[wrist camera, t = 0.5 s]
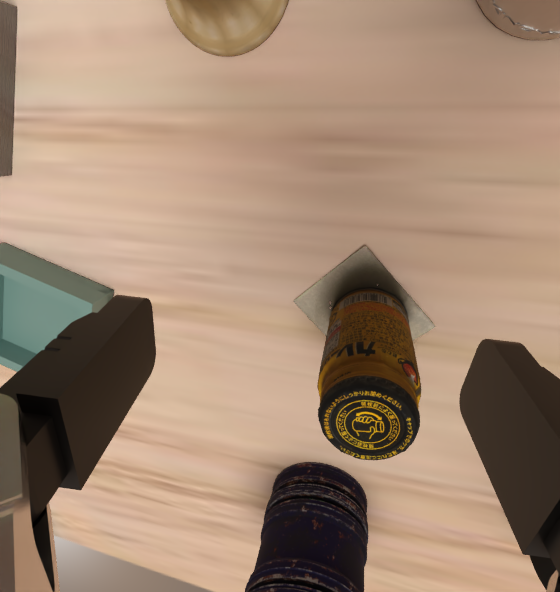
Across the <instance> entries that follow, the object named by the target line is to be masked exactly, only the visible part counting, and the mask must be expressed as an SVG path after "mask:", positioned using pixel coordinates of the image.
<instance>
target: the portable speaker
mask: <svg viewBox="0 0 560 592" xmlns="http://www.w3.org/2000/svg"><path fill="white" fill-rule="evenodd" d="M530 558H531V561H532V563H533V566H534V569H535V571H536V573H537V575H538V577H539V579H540V580H541V582H542V584H543V585H544V587H545V589H546V590H547V587H548V583H549V580H550V578H551V576H552V575H553V574H554V572H555V571H556V568H555V566H554V564H553V562H552V560H551V558H546V557H539V556H531V555H530Z"/></svg>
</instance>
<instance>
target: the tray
mask: <svg viewBox="0 0 560 592" xmlns="http://www.w3.org/2000/svg"><path fill="white" fill-rule="evenodd" d="M113 294H114V290H112V289H110V288H108V287H105V286H103V285H101V284H98V283H96V282H94V281H91V280H89V279H87V278H85V277H82V276H80V275H78V274H75V273H73V272H71V271H69V270H66V269H64V268H62V267H59V266H57V265H55V264H52V263H50V262H48V261H46V260H43V259H41V258H39V257H36V256H34V255H32V254H29V253H27V252H25V251H23V250H20V249H18V248H16V247H13V246H11V245H9V244H6V243H1V244H0V364H1V365H3V366H5V367H8V368H10V369H12V370H14V371H17V372H18V371H19V370H20V369H21V368H22V367H24V366H25V365H26V364H27V363H28V362H29V361H30V360H31V359H32V358H33V357H34V356H36V355H37V354H38V353H39V352H40V351H41V350H44V349H45V346H46V345H47V344H49V343H50V342H51V341H52V340H53V339H54V338H55V339H56V338H57V335H58V334H59V333H61V332H62V331H63V330H64V329H65V328H66V327H67V326H68V325H69V324H70V323H71V322H73V321H75V320H77V319H79V318H81V317H83V316H85V315H87V314H89V313H91V312H95V313H98V312H99V311H100V310H101V309H102V308H103V307H104V306H105V305H106V304H107V303H108V302H109V301H110V300H111V299H112V298H113Z"/></svg>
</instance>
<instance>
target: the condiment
mask: <svg viewBox="0 0 560 592" xmlns="http://www.w3.org/2000/svg"><path fill="white" fill-rule="evenodd" d="M377 284H379V285H378V286H377ZM329 301H331V305H329ZM294 302H295V304H296V305H297V306H298V307H299V308H300V309H301V310H302V311H303V312H304V313H305V314H306V315H307V317H308V318H309V319H310V320H311V321H312V322H313V323H314V324H315V325H316V326H317V327H318V328H319V329H320V330H321V331H322V332H323V333H324V334H325V335H326V341H325V347H324V351H323V357H322V361H321V367H320V373H319V379H318V390H319V396H320V407H319V409H318V417H319V421H320V424H321V428H322V431H323V433H324V435H325V436H326V438H327V439H328V440H329V441H330V442H331V443H332V444H333V445H334V446H335V447H336V448H337V449H339V450H340V451H341V452H343V453H346V454H348V455H351V456H353V457H355V458H358V459H364V460H381V459H387V458H390V457H393V456H395V455H397V454H399V453H401V452H404V451H406V449H407V448H408V447H409V446H410V445H411V444H412V443H413V441H414V439H415V437H416V435H417V433H418V430H419V427H420V415H419V411H418V403H419V400H420V397H421V383H420V376H419V372H418V367H417V361H416V357H415V351H414V346H413V340H414V339H416V338H418V337H420V336H421V335H423V334H425V333H426V332H428V331H430V330H431V329H433V328H434V327H436V326H435V325H434V324H433V323H432V322H431V321H430V319H429V318H428V317H427V316H426V315H425V314H424V312H423V311H422V310H421V309H420V308H419V307H418V306H417V304H416V303H415V302H414V301H413V300H412V298H411V297H410V296H409V295H408V294H407V293H406V291H405V290H404V289H403V288H402V287H401V286H400V285H399V284H398V283H397V282H396V280H395V279H394V278H393V277H392V276H391V274H390V273H389V272H388V271H387V270H386V269H385V267H384V266H383V265H382V264H381V263H380V262H379V261H378V260H377V258H376V257H375V256H374V255H373V254H372V253H371V252H370V250H369V249H368V248H367V247H366V246H364V247H362V248H361V249H360V250H358V251H357V252H356V253H354V254H353V255H352V256H350V257H349V258H348V259H346V260H345V261H344V262H343V263H341V264H340V265H338V266H337V267H336V268H335V269H333V270H332V271H331V272H330V273H328V274H327V275H326V276H324V277H323V278H322V279H320V280H319V281H318V282H317V283H316V284H314V285H313V286H312V287H311V288H309V289H308V290H307V291H305V292H304V293H303V294H302V295H300V296H299V297H298V298H297V299H295V300H294ZM330 306H331V307H332V308H331V309H329V307H330Z"/></svg>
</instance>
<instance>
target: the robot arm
mask: <svg viewBox="0 0 560 592" xmlns="http://www.w3.org/2000/svg"><path fill="white" fill-rule="evenodd" d="M476 1H477V3H478V4H479V6H480V8H481V10H482V11H483V13H484V15H485V16H486V17H487V18H488V19H489V20H490V21H491V22H492V23H493V24H494V25H495V26H496V27H498V28H499V29H501V30H503V31H505V32H507V33H508V34H510V35H512V36H516V37H520V38H524V39H528V40H549V39H554V38H558V37H560V0H476ZM155 357H156V347H155V336H154V324H153V312H152V305H151V302H150V300H149V299H147V298H140V297H131V296H123V295H116V296H114V297H113V298H112V299H111V300H110V301H109V302H108V303H107V304H106V305H105V306H104V307H103V308H102V309H101V310H100V311H99V312H98V313H95V312H91V313H89V314H87V315H85V316H83V317H81V318H79V319H77V320H75V321H73V322H71V323H70V324H69V325H68V326H67V327H66V328H65V329H64V330H63V331H62V332H61V333H59V334H58V335H57V338H56V339H55V338H54V339H53V340H52V341H51V342H50V343H49V344H47V345H46V346H45V349H44V350H41V351H40V352H39V353H38V354H37V355H36V356H34V357H33V358H32V359H31V360H30V361H29V362H28V363H27V364H26V365H25V366H24V367H22V368H21V369H20V370H19V371H18V372H17V373H16V374H15V375H14V376H13V377H12V378H11V379H9V380H8V381H7V382H6V383H5V384H4V385H3V386H2V387H1V388H0V592H60V589H59V581H58V571H57V562H56V554H55V544H54V535H53V526H52V517H51V510H50V506H49V501H50V500H51V498H52V497H53V495H54V494H55V492H56V491H57V489H58V488H59V487H62V488H69V489H76V490H81V489H82V488H83V486H84V484H85V483H86V481H87V479H88V478H89V476H90V474H91V473H92V471H93V469H94V468H95V466H96V464H97V463H98V461H99V459H100V458H101V456H102V454H103V453H104V451H105V449H106V448H107V446H108V444H109V443H110V441H111V440H112V438H113V436H114V435H115V433H116V431H117V430H118V428H119V426H120V425H121V423H122V421H123V420H124V418H125V416H126V415H127V413H128V411H129V410H130V408H131V406H132V405H133V403H134V401H135V400H136V398H137V396H138V395H139V393H140V391H141V390H142V388H143V387H144V385H145V383H146V382H147V380H148V378H149V377H150V375H151V373H152V370H153V367H154V363H155ZM460 410H461V414H462V417H463V419H464V421H465V424H466V426H467V428H468V431H469V433H470V435H471V437H472V440H473V442H474V444H475V447H476V449H477V451H478V453H479V456H480V458H481V460H482V462H483V465H484V467H485V469H486V472H487V474H488V476H489V478H490V481H491V483H492V485H493V487H494V490H495V492H496V494H497V497H498V499H499V501H500V503H501V506H502V508H503V510H504V512H505V515H506V517H507V519H508V522H509V524H510V526H511V528H512V531H513V533H514V535H515V537H516V540H517V542H518V544H519V547H520V549H521V551H522V553H523V554H524V555H531V556H539V557H546V558H551V560H552V562H553V564H554V566H555V568H556V571H555V572H554V574H553V575H552V576H551V578H550V580H549V583H548V587H547V591H546V592H560V379H559V378H558V377H556V376H555V375H554V374H552V373H551V372H549V371H548V370H547V369H545V368H544V367H541V366H540V365H539V364H538V362H537V361H536V360H535V359H534V358H533V356H532V355H531V354H530V353H529V351H528V350H527V349H526V348H525V346H524V345H522V344H521V343H517V342H509V341H500V340H492V339H484V340H483V341H482V342H481V343H480V344H479V346H478V348H477V350H476V353H475V356H474V358H473V361H472V363H471V366H470V368H469V371H468V373H467V376H466V378H465V381H464V384H463V386H462V389H461V393H460Z"/></svg>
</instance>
